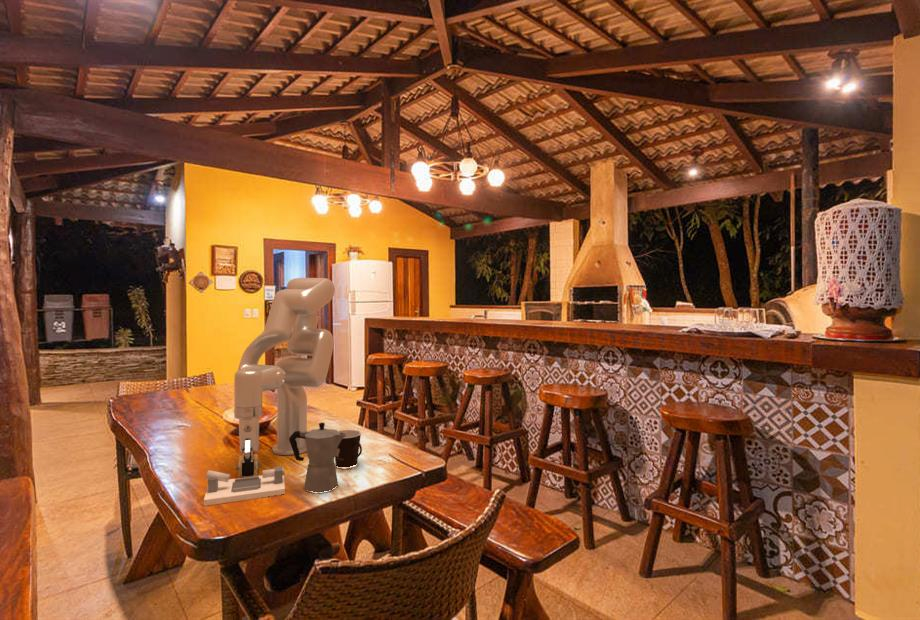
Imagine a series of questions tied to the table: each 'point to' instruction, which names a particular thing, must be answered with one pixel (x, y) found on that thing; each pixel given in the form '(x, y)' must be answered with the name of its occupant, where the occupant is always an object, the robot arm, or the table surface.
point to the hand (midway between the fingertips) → (248, 470)
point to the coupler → (256, 465)
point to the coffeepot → (319, 457)
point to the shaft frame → (243, 486)
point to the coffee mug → (348, 449)
